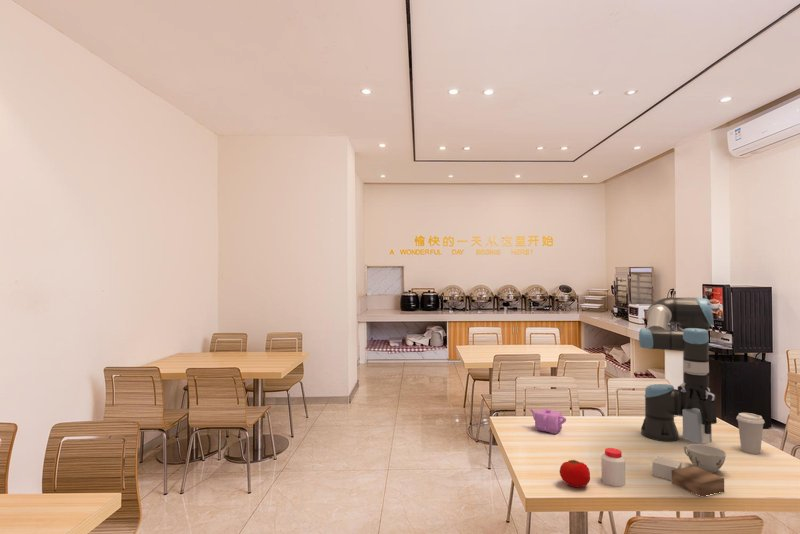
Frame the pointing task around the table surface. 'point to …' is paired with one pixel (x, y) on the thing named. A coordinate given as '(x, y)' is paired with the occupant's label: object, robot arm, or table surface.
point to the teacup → (705, 457)
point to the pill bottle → (613, 467)
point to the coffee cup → (750, 432)
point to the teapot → (548, 420)
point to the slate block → (693, 425)
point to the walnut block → (697, 481)
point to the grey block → (665, 467)
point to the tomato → (575, 473)
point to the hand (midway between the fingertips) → (696, 439)
